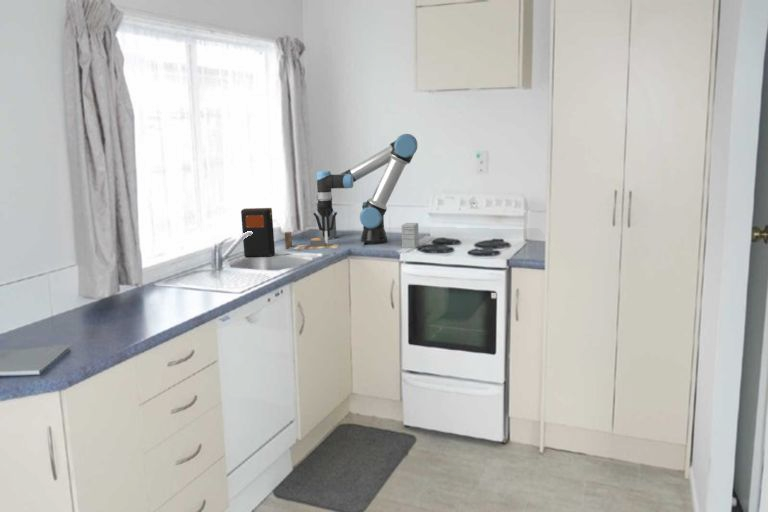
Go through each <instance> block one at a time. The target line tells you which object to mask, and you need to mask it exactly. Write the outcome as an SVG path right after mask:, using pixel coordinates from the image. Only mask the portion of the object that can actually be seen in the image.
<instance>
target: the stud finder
mask: <svg viewBox="0 0 768 512" xmlns="http://www.w3.org/2000/svg"><path fill="white" fill-rule="evenodd" d="M309 243H310V244H309V245H311V247H317V246H326V245H327V243H325V239H321V238H320V237H315V238H314V237H313V238H311V240H310V242H309Z"/></svg>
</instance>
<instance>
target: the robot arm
mask: <svg viewBox="0 0 768 512" xmlns="http://www.w3.org/2000/svg"><path fill="white" fill-rule="evenodd" d="M418 146H419V145H418V141H417V139H416V137H415V136H414V135H413V134H410V133H404V134H400V135H399V136H397V138H396V139H395V140H394V141H393V142H391V143H389V146H387V147H386V148H384V149H382V150H380V151H379V152H377V153H375V154H374V155H372V156H370V157H369V158H367V159H365V160H363V161H361V162H359V163H357V164H356V165H354V166H353V167H351V168H349V169H347V170H345V171H343V172H341V173H340V174H338V173H337V174H332V172H331V171H330V170H320V171H317V173H316V187H317V192H316V193H317V195H318V199H319V200H317V203H318V210H317V209H316V211H315V212H313V215H314V217H315V221H316V223H317V227H318V230H319V231H320V230H322V231H323V237H325V243H326V244H329V239H328V237H330V230H332V229H333V227H334V221H335V218H336V216H337V215H338V211H335V210H334V208H333V196H332V190H333V189H334V190H335V189H346V190H347V189H352V188H354V183H356V182H357V181H359V180H360V179H363V178H364V177H366V176H367V175H369V174H371V173H373V172H375V171H377V170H378V169H380V168H382V167H383V166H385V165H387V166H385V169H384V170H383V171H384V172H383V173H382V176H381V178H380V180H379V181H378V184H377V186H376V187H375V190H374V192H373V194H372V197H371V198H367V200H366V201H364V202H362V204H361V205H362V210H361V211H360V214H359V221H360V223H361V224H362V229H363V230H362V233H361V238H360V241H361V242H362V243H363V244H364V243H368V244H367V245H382V244H386V243H388V242H389V240H388V235H387V233H386V230H385V220H384V219H385V217H384V216H385V215H386V213H387V210H388V207H387V203H388V202H389V200H390V197H391V196H392V193H393V192H394V190H395V187H396V186H397V184H398V181H399V180H400V177H401V175H402V174H403V171H404V169H405V167H406V166H407V165H409V164H410V163H411V162H412V159H413V157H414V155H415V154H416V152H417V150H418ZM331 199H332V200H331ZM331 213H333V218H332V223H331V228H330V220H329V218H330V217H329V216H330V215H331ZM319 214H320V215H321V216H322V227H321V223H320V220H319ZM325 217H326V219H327V231H325Z"/></svg>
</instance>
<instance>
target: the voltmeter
mask: <svg viewBox="0 0 768 512" xmlns="http://www.w3.org/2000/svg"><path fill="white" fill-rule="evenodd" d="M240 216H241V227H242V228H241V229H242V230H241V231H242V234H243V233H245V232H247V231H252V232H253V234H252V235H251V236H248V237H247V238H245V239H244V240H243V239H242V242H243V254H244V257H245V258H246V257H249V258H251V257H252V258H255V257H272V256H273V255H275V254H276V251H275V236H274V225H273V224H274V222H273V221H274V220H273V209H272V207H256V208H255V207H251V208H249V207H248V208H242V209H241V210H240Z"/></svg>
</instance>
